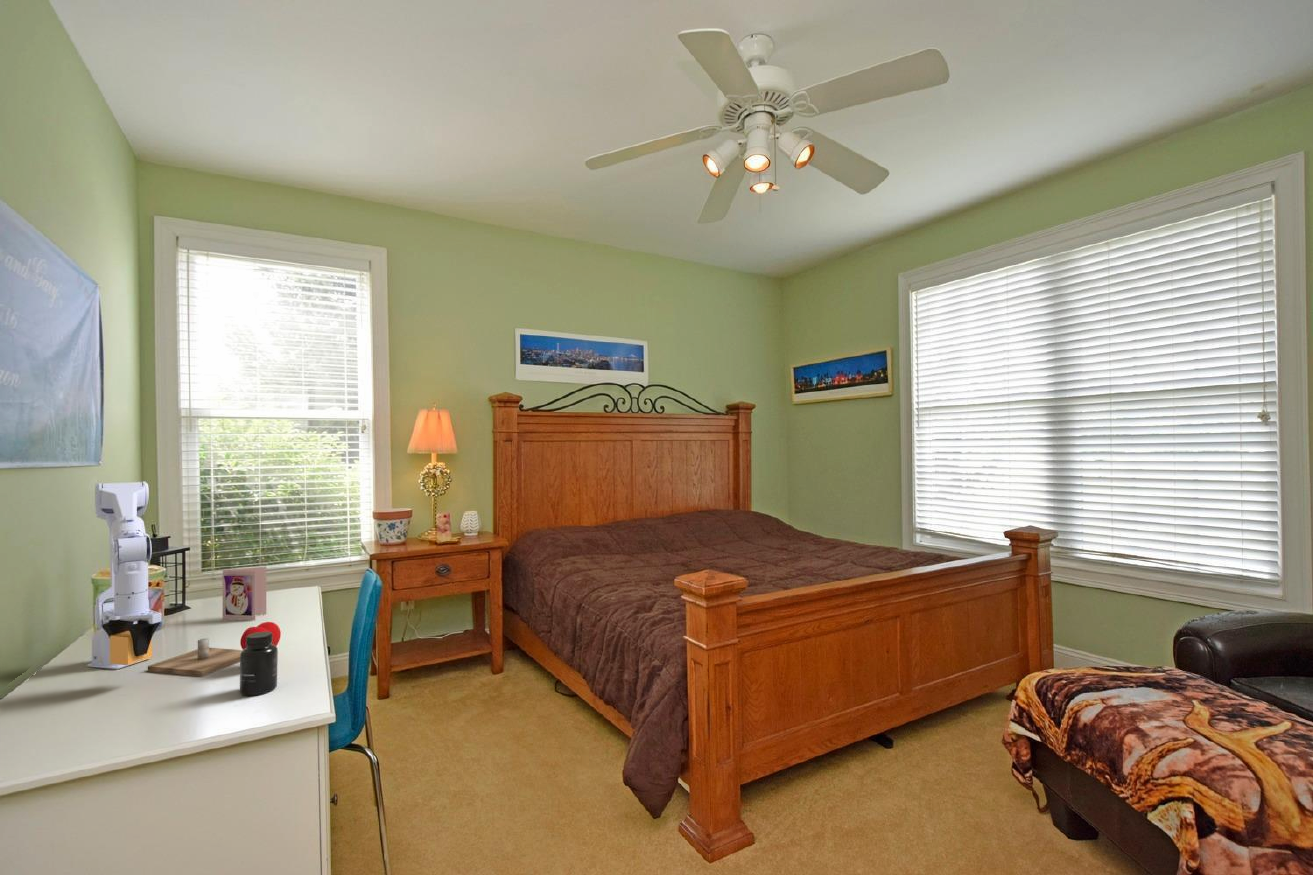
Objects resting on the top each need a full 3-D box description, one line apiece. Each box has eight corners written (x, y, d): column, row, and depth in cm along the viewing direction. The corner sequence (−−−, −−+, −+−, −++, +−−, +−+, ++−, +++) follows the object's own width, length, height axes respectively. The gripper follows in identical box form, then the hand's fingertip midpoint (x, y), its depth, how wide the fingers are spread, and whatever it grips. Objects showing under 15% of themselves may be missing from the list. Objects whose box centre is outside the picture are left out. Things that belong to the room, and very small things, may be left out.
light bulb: (257, 674, 141) (257, 631, 141) (231, 672, 143) (231, 629, 143) (288, 660, 150) (288, 619, 151) (264, 659, 152) (264, 618, 152)
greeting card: (220, 619, 188) (220, 570, 188) (240, 613, 195) (240, 566, 195) (252, 621, 186) (252, 571, 186) (272, 614, 193) (272, 566, 193)
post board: (147, 671, 144) (147, 646, 144) (204, 651, 158) (204, 629, 158) (202, 676, 141) (202, 651, 141) (255, 656, 154) (255, 633, 154)
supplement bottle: (237, 699, 127) (237, 641, 128) (241, 688, 134) (242, 632, 134) (276, 692, 131) (276, 636, 131) (278, 682, 137) (278, 628, 137)
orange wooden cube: (110, 663, 133) (110, 635, 134) (134, 655, 138) (134, 629, 138) (127, 665, 132) (127, 637, 132) (151, 657, 137) (151, 630, 137)
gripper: (85, 594, 133) (85, 657, 133) (137, 598, 130) (137, 662, 130) (121, 587, 140) (120, 647, 140) (171, 590, 137) (171, 651, 137)
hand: (131, 653), depth 135 cm, fingers closed on orange wooden cube, 5 cm apart
